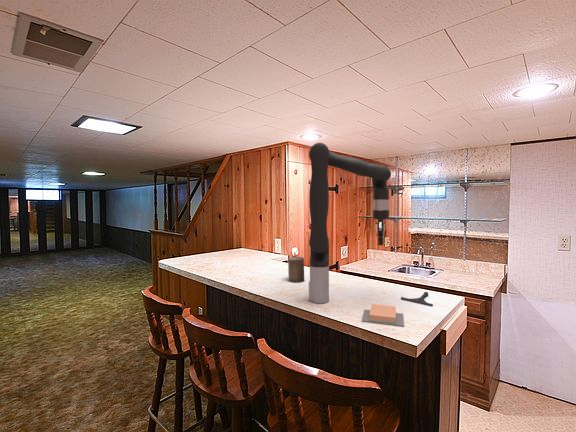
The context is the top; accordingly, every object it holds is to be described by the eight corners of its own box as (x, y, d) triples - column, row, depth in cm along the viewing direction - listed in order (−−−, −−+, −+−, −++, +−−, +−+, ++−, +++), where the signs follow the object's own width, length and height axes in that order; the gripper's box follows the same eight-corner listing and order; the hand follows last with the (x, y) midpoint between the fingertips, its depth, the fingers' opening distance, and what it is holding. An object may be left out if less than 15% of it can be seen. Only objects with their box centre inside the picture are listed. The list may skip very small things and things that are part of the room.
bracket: (442, 299, 148) (442, 294, 147) (431, 308, 137) (431, 302, 137) (412, 293, 158) (412, 288, 157) (400, 301, 147) (400, 295, 147)
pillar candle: (307, 281, 181) (306, 256, 180) (292, 283, 177) (292, 258, 176) (299, 277, 190) (299, 254, 189) (285, 279, 185) (285, 255, 185)
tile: (371, 309, 133) (369, 320, 121) (371, 304, 133) (369, 314, 121) (395, 312, 130) (395, 324, 117) (395, 306, 129) (395, 317, 117)
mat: (361, 321, 121) (361, 320, 121) (364, 310, 133) (364, 309, 133) (404, 326, 116) (404, 325, 116) (403, 314, 128) (403, 313, 128)
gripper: (373, 208, 152) (373, 242, 153) (371, 209, 139) (371, 246, 140) (389, 208, 149) (389, 243, 150) (389, 209, 137) (388, 247, 138)
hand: (380, 244), depth 145 cm, fingers closed
